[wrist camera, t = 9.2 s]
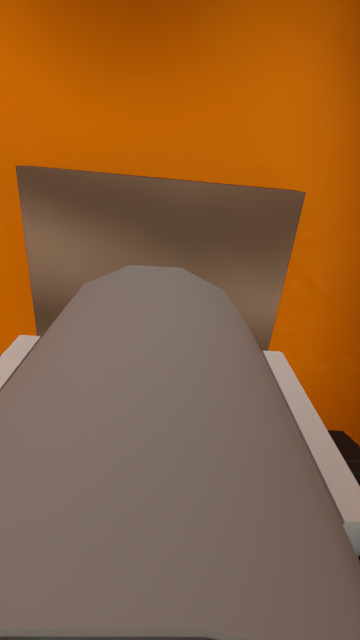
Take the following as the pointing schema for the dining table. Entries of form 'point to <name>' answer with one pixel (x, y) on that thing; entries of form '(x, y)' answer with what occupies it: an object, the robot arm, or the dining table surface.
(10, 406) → the cup
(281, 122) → the dining table surface
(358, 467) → the robot arm
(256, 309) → the walnut board
